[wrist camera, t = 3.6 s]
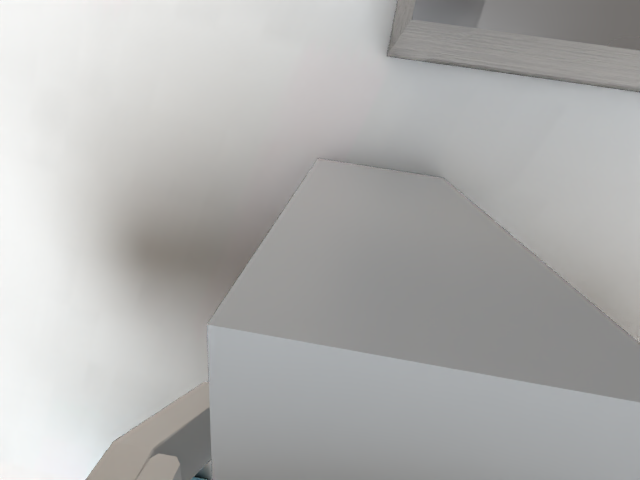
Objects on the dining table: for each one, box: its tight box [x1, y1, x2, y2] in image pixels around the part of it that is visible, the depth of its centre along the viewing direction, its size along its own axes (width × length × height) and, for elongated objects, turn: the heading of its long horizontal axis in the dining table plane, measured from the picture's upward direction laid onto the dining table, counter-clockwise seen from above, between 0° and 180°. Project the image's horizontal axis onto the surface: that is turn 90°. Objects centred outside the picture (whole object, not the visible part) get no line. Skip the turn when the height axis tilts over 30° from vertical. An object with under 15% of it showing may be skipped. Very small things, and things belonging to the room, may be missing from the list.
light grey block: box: [207, 158, 640, 480], centre depth 8 cm, size 4×11×8 cm, turn 172°
